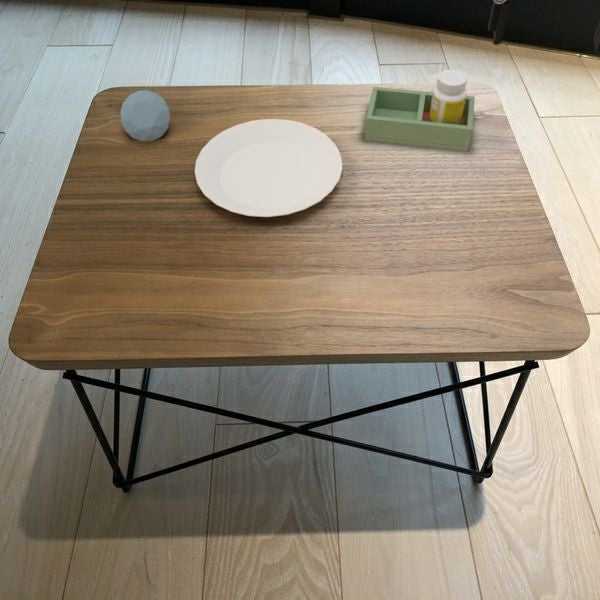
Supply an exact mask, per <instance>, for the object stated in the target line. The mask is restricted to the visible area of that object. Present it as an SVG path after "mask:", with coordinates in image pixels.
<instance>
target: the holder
mask: <svg viewBox="0 0 600 600" xmlns="http://www.w3.org/2000/svg"><path fill="white" fill-rule="evenodd" d="M432 95H433V91H432V92H431V91H424V90H423V91H421V90H413V89H402V88H401V89H400V88H391V87H382V86H381V87H380V86H373V87H372V91H371V95H370V99H369V104H368V108H367V111H366V117H365V126H364V127H365V128H364V138H363V139H364V141H373V142H381V143H392V144H399V145H400V144H401V145H409V146H418V147H427V148H437V149H445V150H453V151H454V150H455V151H462V152H468V151H469V147H470V144H471V139H472V136H473V130H474V117H475V116H474V115H475V99H476V97H475V96H471V95H466V100H465V105H464V109H463V114H462V119H461V124H460V125H456V124H446V123H437V122H428V121H429V114H430V108H431V102H432Z"/></svg>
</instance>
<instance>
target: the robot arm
mask: <svg viewBox="0 0 600 600" xmlns="http://www.w3.org/2000/svg"><path fill="white" fill-rule="evenodd" d="M510 10H511V0H493V3H492V7H491V11H490V16H489V19H488V20H489V21H488V24H487V25H488V26H487V32H493V37H492V39H493V41H492V45H495V46H499V45H500V44H502V41H503V39H504V34H505V30H506V25H507V22H508V18H509V14H510ZM596 26H597V27H596V29H595V31H594V34H593V43H594V51H595V53H597V55H599V54H600V20H599V21H598V23H597V25H596Z"/></svg>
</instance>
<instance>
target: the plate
mask: <svg viewBox="0 0 600 600" xmlns="http://www.w3.org/2000/svg"><path fill="white" fill-rule="evenodd" d="M343 169H344V167H343V159H342V154H341V152H340V149H339V148H338V146H337V144H336V143H335V142H334V141H333V140H332V139H331V138H330V137H329V136H328V135H327V134H325V133H324V132H322V131H321V130H319V129H318V128H316V127H313V126H310V125H309V124H306V123H304V122H299V121H294V120H290V119H283V118H281V119H280V118H265V119H264V118H263V119H256V120H250V121H247V122H242V123H239V124H236V125H233V126H231V127H228V128H226V129H225V130H222V131H221V132H219V133H218V134H217V135H214V137H212V138H210V140H209V141H208V142H207V143H206V144H205V145H204V147H202V148H201V150H200V152H199V154H198V156H197V158H196V159H195V166H194V177H195V180H196V184H197V186H198V187H199V189H200V190H201V192H202V193H203V195H204V196H205V197H206V198H208V200H209V201H211V202H212V203H213V204H215V205H216V206H218V207H220V208H222V209H224V210H227V211H229V212H231V213H234V214H238V215H243V216H247V217H258V218H260V217H261V218H272V217H281V216H288V215H292V214H295V213H297V212H301V211H305V210H307V209H309V208H310V207H312V206H314V205H316V204H318V203H320V202H321V201H322V200H323V199H325V198H326V197H327V196H328V195H329V194H331V193H332V192H333V190H334V188H335V187H336V186H337V184H338V182H339V181H340V179H341V175H342V172H343Z"/></svg>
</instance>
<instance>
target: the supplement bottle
mask: <svg viewBox="0 0 600 600" xmlns="http://www.w3.org/2000/svg"><path fill="white" fill-rule="evenodd" d="M467 80H468V77H467V75H466V74H465V73H464V72H463V71H461V70H457V69H445V70H443V71H441V72H440V73H439V74H438V76H437V80H436V85H435V86H434V88H433V91H432V92H433V95H432V102H431V108H430V114H429V121H428V122H437V123H446V124H456V125H460V124H461V119H462V114H463V109H464V105H465V100H466V96H468V95H467V93H468V92H467V88H466V87H467Z"/></svg>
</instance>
